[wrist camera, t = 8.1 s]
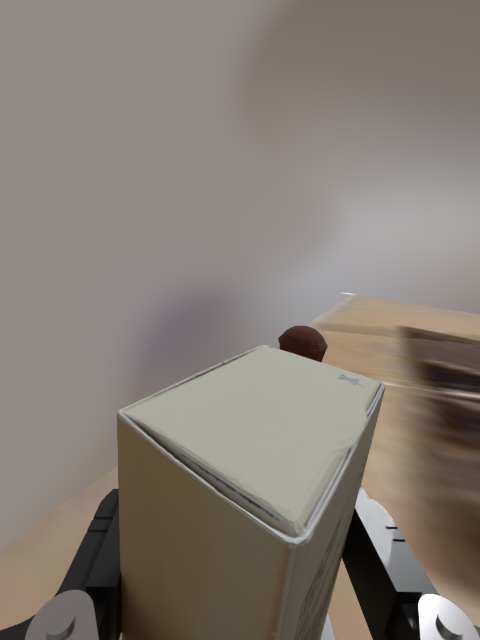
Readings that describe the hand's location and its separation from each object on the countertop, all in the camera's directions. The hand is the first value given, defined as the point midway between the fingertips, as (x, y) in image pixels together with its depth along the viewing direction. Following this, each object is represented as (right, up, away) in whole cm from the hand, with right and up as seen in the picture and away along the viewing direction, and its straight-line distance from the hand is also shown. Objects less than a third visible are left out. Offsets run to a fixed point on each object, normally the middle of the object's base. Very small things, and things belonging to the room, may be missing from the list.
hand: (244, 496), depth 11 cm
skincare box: (-1, -7, -1) cm, 7 cm away
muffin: (+14, -5, +57) cm, 59 cm away
